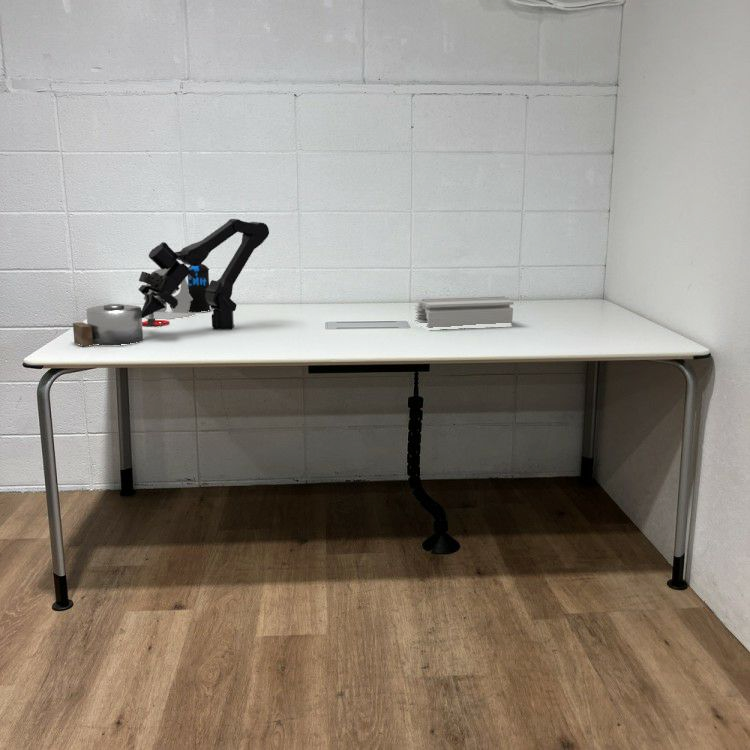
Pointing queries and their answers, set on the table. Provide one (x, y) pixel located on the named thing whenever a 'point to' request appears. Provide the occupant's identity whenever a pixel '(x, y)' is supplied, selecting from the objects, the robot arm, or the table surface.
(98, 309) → the cylinder
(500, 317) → the aluminum extrusion profile
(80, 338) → the walnut block
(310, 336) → the table surface
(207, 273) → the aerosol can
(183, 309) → the ornament
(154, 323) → the tow hook
